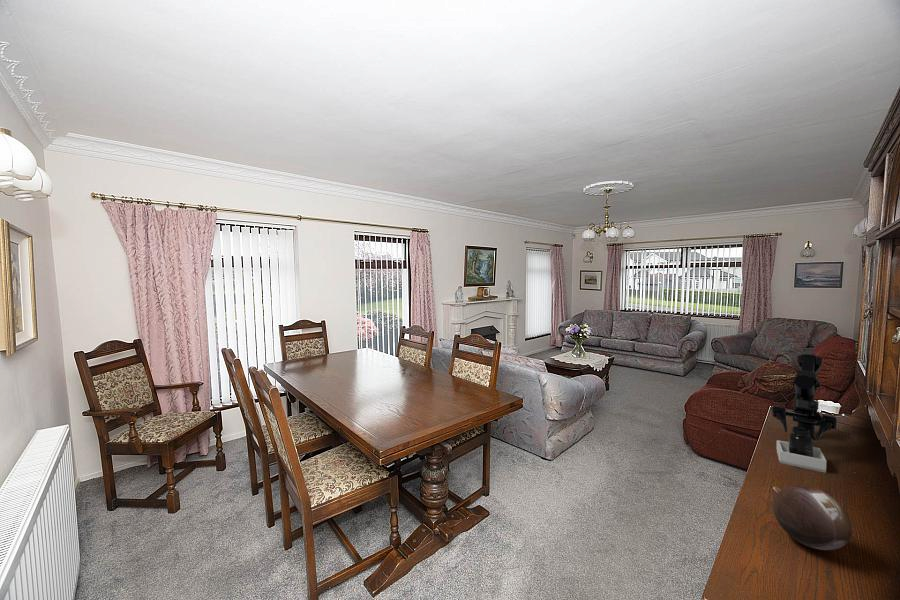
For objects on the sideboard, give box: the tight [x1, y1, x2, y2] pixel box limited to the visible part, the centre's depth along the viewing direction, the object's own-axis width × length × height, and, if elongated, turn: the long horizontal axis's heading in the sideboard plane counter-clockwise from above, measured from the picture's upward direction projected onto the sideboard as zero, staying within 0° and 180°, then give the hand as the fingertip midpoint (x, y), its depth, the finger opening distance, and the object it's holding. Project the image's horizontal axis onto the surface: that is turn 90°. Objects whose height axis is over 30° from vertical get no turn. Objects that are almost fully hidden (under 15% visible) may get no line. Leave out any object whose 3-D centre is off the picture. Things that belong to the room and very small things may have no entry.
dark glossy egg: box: [772, 484, 853, 551], centre depth 97 cm, size 15×15×15 cm
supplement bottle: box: [788, 425, 814, 457], centre depth 141 cm, size 7×7×12 cm
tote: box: [776, 440, 827, 474], centre depth 141 cm, size 13×13×4 cm
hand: (801, 435), depth 144 cm, fingers open, 9 cm apart
